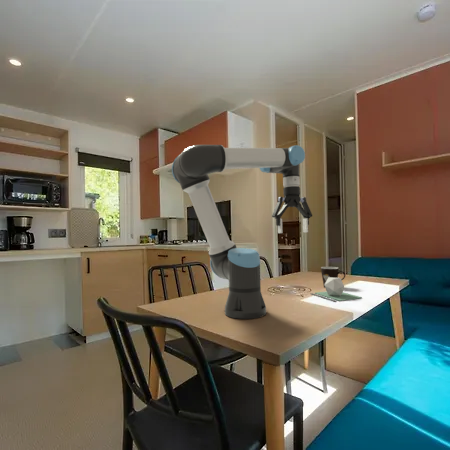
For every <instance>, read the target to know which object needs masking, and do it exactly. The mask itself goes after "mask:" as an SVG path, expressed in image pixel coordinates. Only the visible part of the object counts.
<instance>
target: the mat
mask: <svg viewBox="0 0 450 450" xmlns="http://www.w3.org/2000/svg"><path fill="white" fill-rule="evenodd" d="M314 294H316V295H319V296H322V297H326V298H329V299H332V300H335V301H336V302H337V301H338V302H344V301H351V300H357V299H362V298H363V297H362V296H359V295H355V294H351V293H348V292H344V291H343V293H342V295H341V296H328V293H327V291H319V292H314Z"/></svg>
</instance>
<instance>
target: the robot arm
mask: <svg viewBox="0 0 450 450" xmlns="http://www.w3.org/2000/svg"><path fill="white" fill-rule="evenodd" d="M305 152H306V151H305V150H304V148H303V147H302V146H300V145H297V144H296V145H291V146H289V147H279V148H278V147H224V145H222V144H194V145H191V146H188V147H187V148H184V150H183V151H182V152H181V153H180V154H178V156H176V157H175V159H174V160H173V162H172V165H171V174H172V177H173V179H174V180H175V182H177V183H179V185H180V188H181V190H182V191H183V192H185V193H187V194H188V196H189V199H190V201H191V204H192V206H193V208H194V211H195V215H196V216H197V219H198V222H199V224H200V226H201V229H202V231H203V233H204V236H205V238H206V241H207V244H208V245H209V251H208V256H209V258H210V261H209V264H210V265H209V266H210V269H211V271H212V273H213V274H215V276H217V277H218V278H221V279H224V280H228V295H227V299H226V302H225V305H224V314H225V316H227V317H229V318H232V319H238V320H250V319H251V320H252V319H258V318H261V317H264V316H265V315H266V314H267V305H266V303H265V300H264V297H263V295H262V292H261V291H262V290H261V289H262V287H261V285H262V284H261V257H260V252H258V251H257V250H256V249H252V248H246V247H244V248H243V247H237V246H236V243H235V242H234V241H232V240H230V238H229V235H228V233H227V230H226V227H225V225H224V223H223V220H222V217H221V214H220V212H219V209H218V207H217V204H216V203H215V199H214V197H213V194H212V191H211V189H210V187H209V183H210V181H211V179H210V176H209V175H211V174H213V173H222V172H225V170H231V169H232V170H235V169H238V170H239V169H259V170H260V171H261V172H262V173H266V174H282V183H283V184H282V185H283V186H282V187H283V188H282V189H283V196H278V198H277V202H276V205H275V207H274V210H273V212H272V214H271V218H274V219H275V225H276V227H277V234H283V218H281V217H282V216H283V215H284V213H285V212H286V210H287V209H288V208H295V209H297V210H298V212H299V213H300V214H301V215H302V232H303V233H309V225H310V218H312V217H313V213H312V211H311V208H310V207H309V204H308V203H307V197H305V196H304V197H303V196H302V197H300V196H301V188H300V186H301V181H300V178H301V177H300V165H301V164H302V163H303V162H304V161H305V158H306V153H305ZM300 202H301V203H300ZM282 204H283V205H282Z"/></svg>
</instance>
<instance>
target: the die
mask: <svg viewBox="0 0 450 450" xmlns="http://www.w3.org/2000/svg"><path fill="white" fill-rule="evenodd" d="M341 279H342V278H341V277H338V278H333V277H328V279H327V281H326V283H325V285H323V287H324V286H325V288H324V289H325V290H326V291H327V293H328V296H341V295H342V293H343V292H344V290H345V285H344V283H343V280H341ZM326 291H325V292H326Z"/></svg>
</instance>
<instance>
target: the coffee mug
mask: <svg viewBox="0 0 450 450" xmlns="http://www.w3.org/2000/svg"><path fill="white" fill-rule="evenodd" d="M320 271H321V277H322V284H323V288H324V289H326V288H325V286H324V285H325V283H326V281H327V279H328V277H333V278H339V273H342V274H343V277H342V278H341V280H342V281H343V280H344V279H345V278H346V272H344V271H341V270H340V271H339V267H338V266H337V267H336V266H321V267H320Z"/></svg>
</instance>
